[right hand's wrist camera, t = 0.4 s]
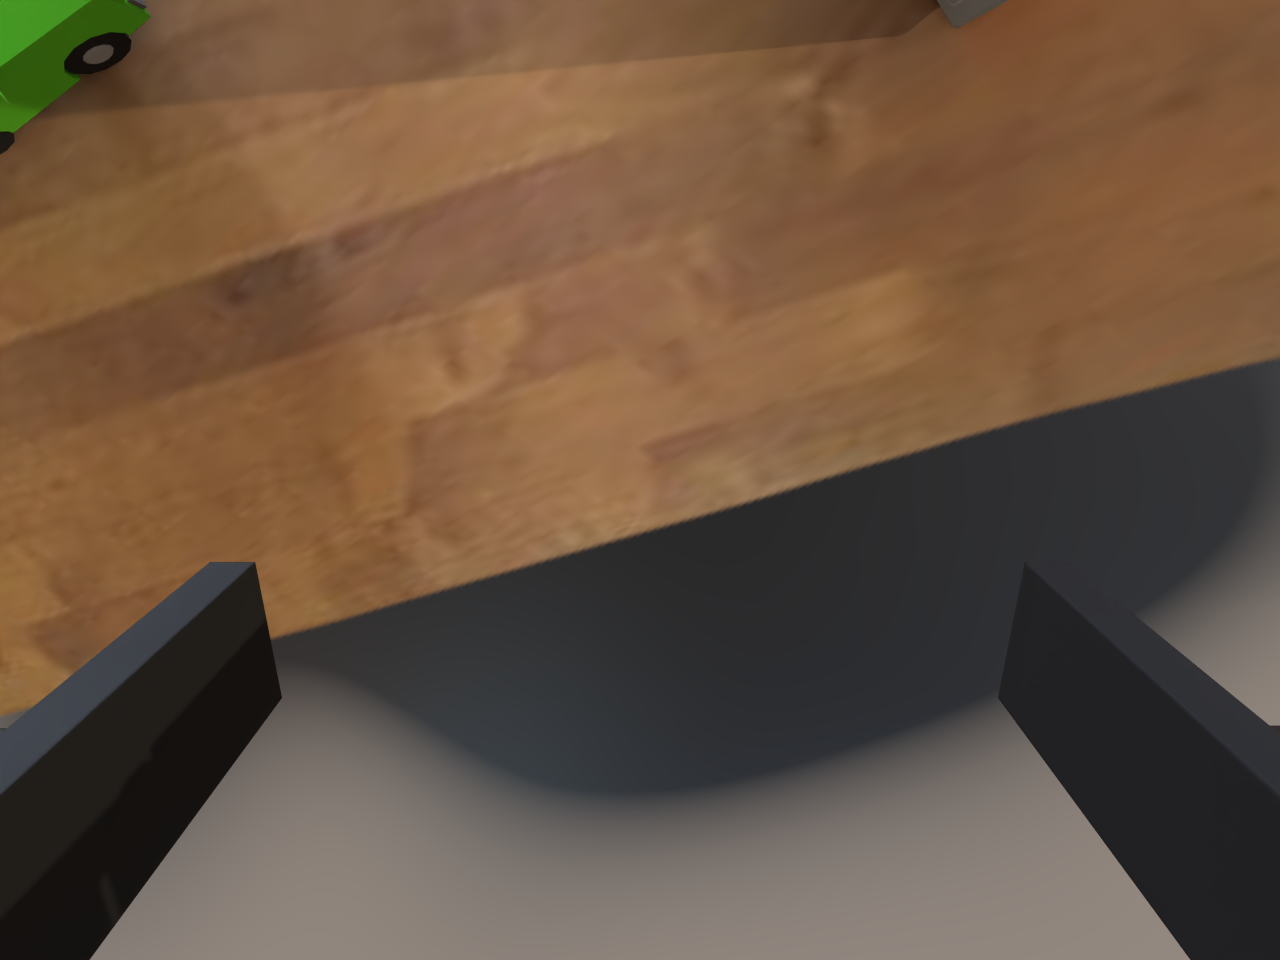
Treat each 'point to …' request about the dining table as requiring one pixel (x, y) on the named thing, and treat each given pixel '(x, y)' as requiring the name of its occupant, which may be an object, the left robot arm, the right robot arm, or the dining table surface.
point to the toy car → (57, 50)
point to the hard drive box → (966, 9)
